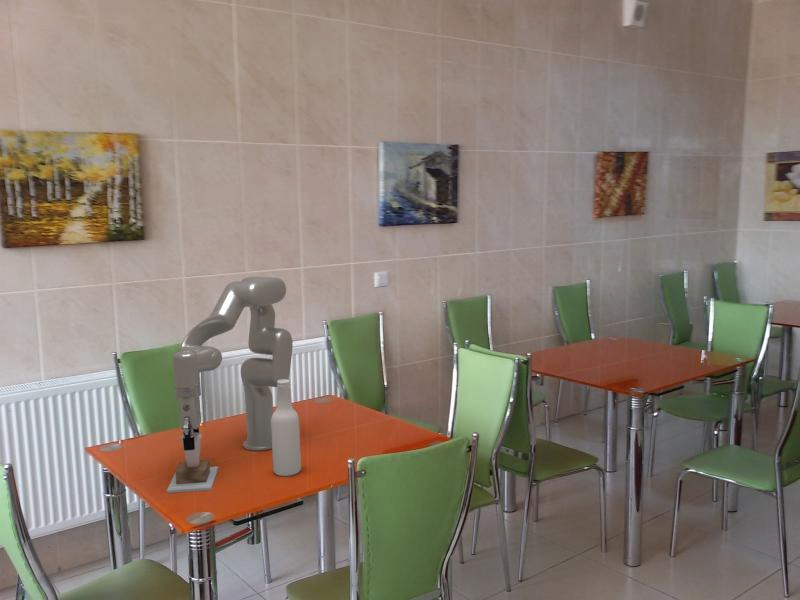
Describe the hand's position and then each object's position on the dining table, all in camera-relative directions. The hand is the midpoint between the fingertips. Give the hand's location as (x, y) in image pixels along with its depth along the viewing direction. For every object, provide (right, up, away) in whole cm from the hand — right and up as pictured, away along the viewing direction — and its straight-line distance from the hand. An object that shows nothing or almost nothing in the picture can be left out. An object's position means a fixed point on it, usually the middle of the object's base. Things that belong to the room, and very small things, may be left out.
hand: (191, 444), depth 229 cm
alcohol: (+29, -10, +7) cm, 31 cm away
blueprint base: (0, -12, +1) cm, 12 cm away
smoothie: (0, -7, +1) cm, 7 cm away
